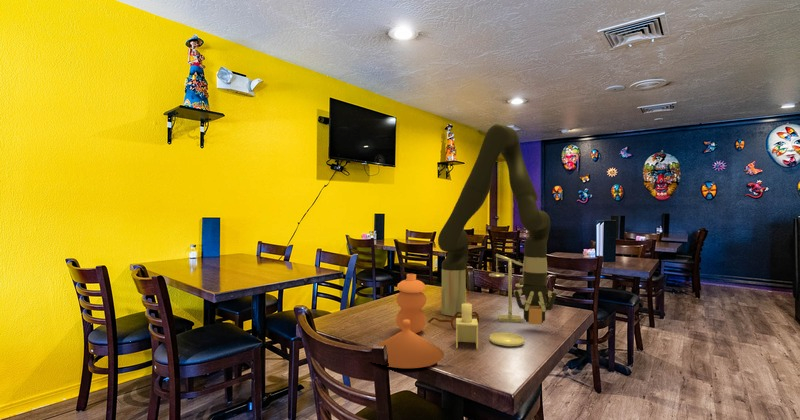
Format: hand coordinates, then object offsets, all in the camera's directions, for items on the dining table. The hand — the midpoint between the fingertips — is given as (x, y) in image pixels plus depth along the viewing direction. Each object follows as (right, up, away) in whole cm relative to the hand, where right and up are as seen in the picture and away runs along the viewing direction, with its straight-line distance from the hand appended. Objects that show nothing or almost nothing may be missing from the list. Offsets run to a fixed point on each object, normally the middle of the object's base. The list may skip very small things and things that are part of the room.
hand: (534, 321), depth 126 cm
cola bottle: (+12, -4, +32) cm, 35 cm away
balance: (-4, -3, +13) cm, 14 cm away
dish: (-12, -3, -12) cm, 17 cm away
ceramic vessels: (-42, -3, -13) cm, 44 cm away
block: (0, 0, 0) cm, 0 cm away
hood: (-25, -3, -14) cm, 29 cm away
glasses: (-26, -4, +9) cm, 27 cm away
